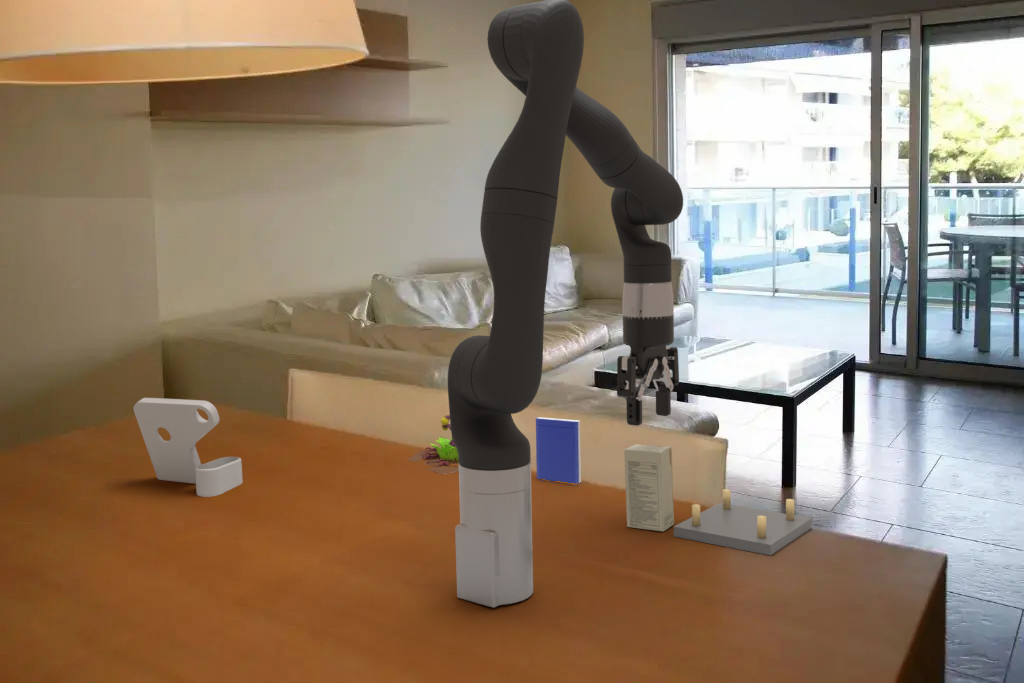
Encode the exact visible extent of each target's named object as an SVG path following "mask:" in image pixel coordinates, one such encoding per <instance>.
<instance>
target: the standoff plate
mask: <svg viewBox="0 0 1024 683" xmlns="http://www.w3.org/2000/svg"><path fill="white" fill-rule="evenodd" d="M731 495H732V490H731V489H729V488H724V489H722V502H717V504H714V505H713V506H710V507H709V508H707V509H705V510H703V511H701V504H698V503H694V504H691V517H689V518H687V519H685V520H683V521H682V522H680V523H678V524H676V525H674V526H673V537H674V538H675V537H676V538H679V539H684V540H690V541H695V542H700V543H705V544H711V545H715V546H720V547H725V548H731V549H737V550H740V551H745V552H746V551H747V552H751V553H755V554H756V553H757V554H761V555H766V556H772V555H774V554H775V553H777V552H778V551H780V550H781V549H783V548H784V547H786V546H787V545H789V544H790V543H791V542H793V541H795V540H796V539H798V538H799V537H800V536H802V535H804V534H805V533H807V532H808V531H811V529H812V526H813V524H812V523H813V519H812V518H811V517H806V516H800V515H795V499H794V498H786V499H785V513H783V512H776V511H770V510H764V509H758V508H752V507H748V506H747V507H746V506H741V505H735V504H734V505H733V504H732V502H731V501H732V496H731Z"/></svg>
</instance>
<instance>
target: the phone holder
mask: <svg viewBox="0 0 1024 683" xmlns="http://www.w3.org/2000/svg"><path fill="white" fill-rule="evenodd" d="M198 410H201V411H204V412H205V413H206V415H207V417H208V418H207V419H208V420H207V419H205V418H204V417H202V416H201V415H200V414H199V412H198ZM133 413H134V415H135V418H136V421H137V424H138V426H139V430H140V433H141V435H142V438H143V441H144V444H145V446H146V450H147V453H148V455H149V457H150V458H149V459H150V461H151V464H152V466H153V469H154V472H155V475H156V479H157V480H161V481H169V482H178V483H186V484H188V483H189V484H195V489H196V490H195V491H196V495H197V496H199V497H204V498H207V497H209V498H210V497H215V496H220V495H222V494H224V493H227V491H231V490H233V489H235V488H236V487H238V486H240V485H242V484H243V482H244V481H243V464H242V458H241V457H239V456H223V457H219V458H217V459H214V460H211V461H209V462H206V463H201V459H200V457H199V453H198V450H197V448H196V444H197V442H199V441H200V440H201V439H203V438H204V437H205V436H206V435H207V434H208V433H209V432H210V431H212V430H213V429H214V428H215V427H216V426H217V425H218V424H219V423H220V420H221V419H220V416H219V412H218V410H217V408H216V407H215V405H214V404H213V403H211V402H210V401H207V400H201V399H200V400H199V399H198V400H197V399H184V398H183V399H181V398H161V397H160V398H159V397H143V398H141V399H140V400H138V401H137V402H136V403H135V404H134V405H133ZM159 428H163V429H165V431H166V432H168V433H169V436H170V439H169V440H164V438H163V437H162V436H161V435H160V433H159Z"/></svg>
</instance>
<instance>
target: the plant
mask: <svg viewBox="0 0 1024 683" xmlns="http://www.w3.org/2000/svg"><path fill="white" fill-rule="evenodd" d="M449 421H450V414H449V415H445V416H443V417H442V418H441V419H440V423H441V429H442V430H443V431H447V430H448V429H449V431H451V425H450V423H449ZM435 441H436V442H437V443H438V445H439V446H440V447H439V446H438V445H437V444H433V443H430V445H431V446H432V448H431V447H429V446H428V447H425V450H422V451H419V452H416V453H414V454H413V456H411V457H409V458H407V460H408V461H409V462H413V463H417V462H420V461H421V460H426V461H424V462H423V465H426V466H430V468H427V469H428V470H427V471H428V472H431V471H432V473H435V474H438V473H439V475H441V474H444V475H448V474H447V473H454V474H456V473H455V472H459V465H458V466H456V465H454V466H451V465H452V464H459V462H458V451H457V448H456V446H455V444H454V441H453V438H452V436H451V437H450V439H448V438H447V437H442V436H440V437H439V438H438V439H436V440H435ZM438 458H440V459H438ZM448 460H449V461H448ZM443 464H444V465H443ZM449 464H451V465H449ZM432 465H433V466H432ZM440 465H441V466H440ZM448 466H449V467H448Z"/></svg>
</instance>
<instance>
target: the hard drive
mask: <svg viewBox="0 0 1024 683" xmlns="http://www.w3.org/2000/svg"><path fill="white" fill-rule="evenodd" d="M535 444H536V446H535V447H536V448H535V450H536V451H535V452H536V453H535V454H536V456H535V457H536V458H535V459H536V463H535V464H536V479H537V478H538V479H545V480H550V481H561V482H568V483H575V484H576V483H577V484H579V483H580V482H581V483H582V461H581V460H582V459H581V458H582V456H581V455H582V454H581V453H582V452H581V448H582V447H581V420H576V419H568V418H567V419H565V418H555V417H543V416H542V417H541V416H539V417H538V416H537V417H536V418H535ZM538 479H537V480H538ZM550 481H549V482H550Z"/></svg>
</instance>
